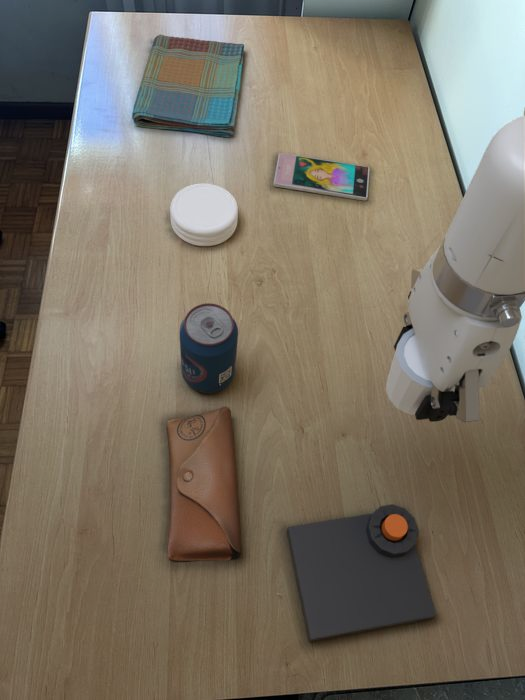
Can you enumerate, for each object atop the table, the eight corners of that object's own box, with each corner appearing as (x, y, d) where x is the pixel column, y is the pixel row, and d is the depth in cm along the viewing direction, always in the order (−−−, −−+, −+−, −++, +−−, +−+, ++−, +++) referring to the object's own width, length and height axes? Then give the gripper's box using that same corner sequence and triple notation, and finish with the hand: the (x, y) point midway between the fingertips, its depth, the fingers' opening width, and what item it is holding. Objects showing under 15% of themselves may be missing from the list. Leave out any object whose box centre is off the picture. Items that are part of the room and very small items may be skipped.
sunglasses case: (162, 417, 83) (188, 394, 78) (210, 426, 86) (238, 405, 82) (166, 565, 73) (196, 549, 69) (220, 567, 77) (252, 552, 73)
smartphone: (367, 198, 104) (273, 183, 104) (366, 201, 105) (272, 187, 105) (369, 166, 108) (278, 152, 108) (368, 170, 109) (278, 155, 109)
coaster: (160, 236, 98) (159, 220, 95) (184, 191, 103) (184, 174, 100) (224, 255, 97) (225, 239, 94) (245, 208, 102) (246, 192, 99)
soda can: (171, 369, 87) (166, 318, 77) (213, 342, 89) (214, 289, 79) (203, 407, 84) (203, 359, 74) (245, 377, 87) (251, 328, 77)
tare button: (400, 516, 76) (404, 512, 74) (407, 539, 74) (410, 535, 73) (378, 520, 75) (381, 515, 74) (385, 542, 74) (388, 539, 73)
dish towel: (130, 127, 110) (128, 115, 108) (153, 41, 122) (152, 28, 120) (233, 139, 110) (234, 127, 108) (246, 52, 122) (247, 39, 120)
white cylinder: (372, 407, 66) (389, 373, 60) (388, 352, 70) (406, 315, 64) (439, 430, 65) (462, 398, 59) (452, 374, 69) (475, 338, 63)
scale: (402, 510, 79) (409, 501, 76) (433, 618, 73) (443, 612, 70) (285, 529, 77) (289, 520, 74) (308, 642, 71) (312, 637, 68)
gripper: (574, 362, 47) (483, 458, 62) (491, 184, 55) (429, 306, 71) (475, 373, 46) (407, 468, 61) (406, 190, 54) (361, 312, 70)
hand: (419, 380), depth 66 cm, fingers closed on white cylinder, 6 cm apart
